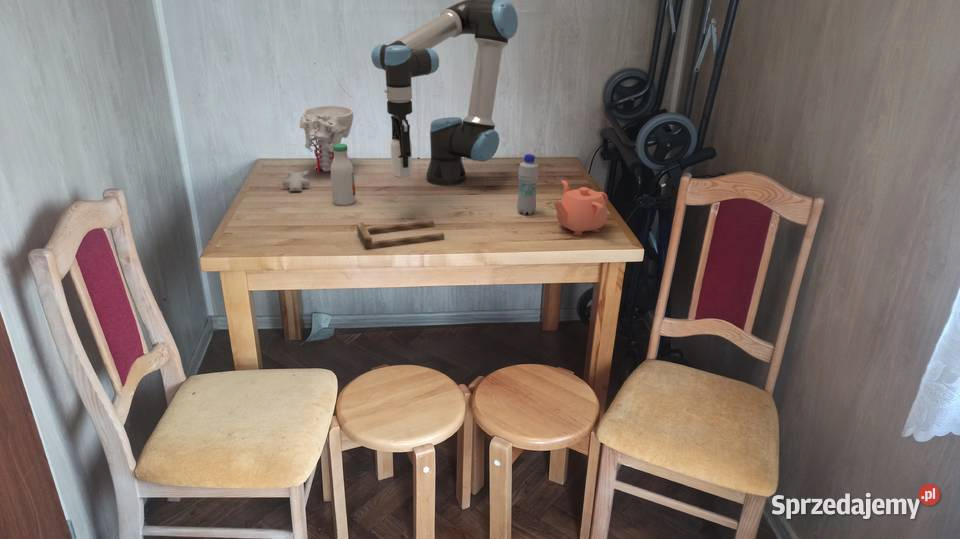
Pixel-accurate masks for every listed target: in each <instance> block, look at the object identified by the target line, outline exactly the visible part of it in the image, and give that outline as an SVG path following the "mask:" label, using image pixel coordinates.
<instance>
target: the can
mask: <svg viewBox="0 0 960 539" xmlns="http://www.w3.org/2000/svg"><path fill="white" fill-rule="evenodd" d="M410 148H411V157H409V173H410V177H411V176H412V175H413V153H412V141H411V140H410ZM399 156H401V153H400V144H399V137H396V136H393V137H392V136H391V141H390V157H391V158H390V159H391V160H390V162H391V175H392V176H393V177H395V178H400V179H402V178H401V174H400V158H399ZM404 178H406V177H403V179H404Z"/></svg>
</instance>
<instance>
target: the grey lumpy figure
mask: <svg viewBox="0 0 960 539" xmlns="http://www.w3.org/2000/svg"><path fill="white" fill-rule="evenodd" d="M310 174H311V173H310V171H309V170H308V169H306V170H305V169H304V170H303V171H295V170H289V171H288V173H287V176H289V178H286V179H283V180H282V182H281V183H282V187H283V188H287V189H288V190H289V192H303V189H304V188H307V187H311V182H310V179H308V178H306V177H307V176H309V175H310Z"/></svg>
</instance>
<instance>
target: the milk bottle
mask: <svg viewBox="0 0 960 539" xmlns="http://www.w3.org/2000/svg"><path fill="white" fill-rule="evenodd" d="M333 150H334V151H333V152H334V159H333V162H332V164H331V172H330V181H331V182H330V183H331V193H332V194H331V195H332V202H333V203H334V204H335V205H337V206H350V205H352V204H355V202H356V187H355V186H356V184H355V174H354V168H353V167H354V166H353V164H352V162H351V161H350V158H349V156H348V144H346V143H340V144H335V145H333Z"/></svg>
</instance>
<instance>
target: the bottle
mask: <svg viewBox="0 0 960 539" xmlns="http://www.w3.org/2000/svg"><path fill="white" fill-rule="evenodd" d="M535 159H536V157H535V155H534V154H531V153H529V154H528V153H527V154H525V155H524V159H523V161H522V162H520V163H519V167H518V171H517V173H518V177H517V179H518V191H517V192H518V194H517V195H518V196H517V202H516V203H517V204H516V206H517V207H516V209H517V212H518V213H519V214H523V215H526V214H528V216H529V215H531V214H534V213H535V212H536V210H537V208H536V207H537V189H538V188H537V186H538V184H537V183H538V179H539V175H540V174H539V164H538V163H537V162H535Z"/></svg>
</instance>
